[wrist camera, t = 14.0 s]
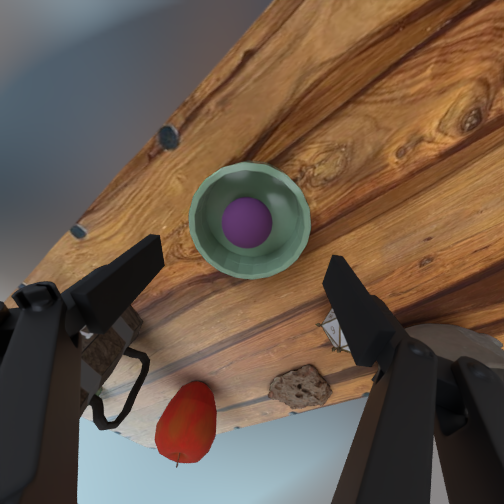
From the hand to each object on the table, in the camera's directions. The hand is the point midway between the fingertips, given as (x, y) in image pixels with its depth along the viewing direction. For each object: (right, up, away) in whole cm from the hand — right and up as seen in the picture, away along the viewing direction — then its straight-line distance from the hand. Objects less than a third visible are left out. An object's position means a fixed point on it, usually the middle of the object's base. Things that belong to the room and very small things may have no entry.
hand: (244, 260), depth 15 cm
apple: (-13, -33, +33) cm, 48 cm away
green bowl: (+1, +6, +11) cm, 12 cm away
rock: (+12, -31, +30) cm, 45 cm away
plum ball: (0, +4, +8) cm, 9 cm away
